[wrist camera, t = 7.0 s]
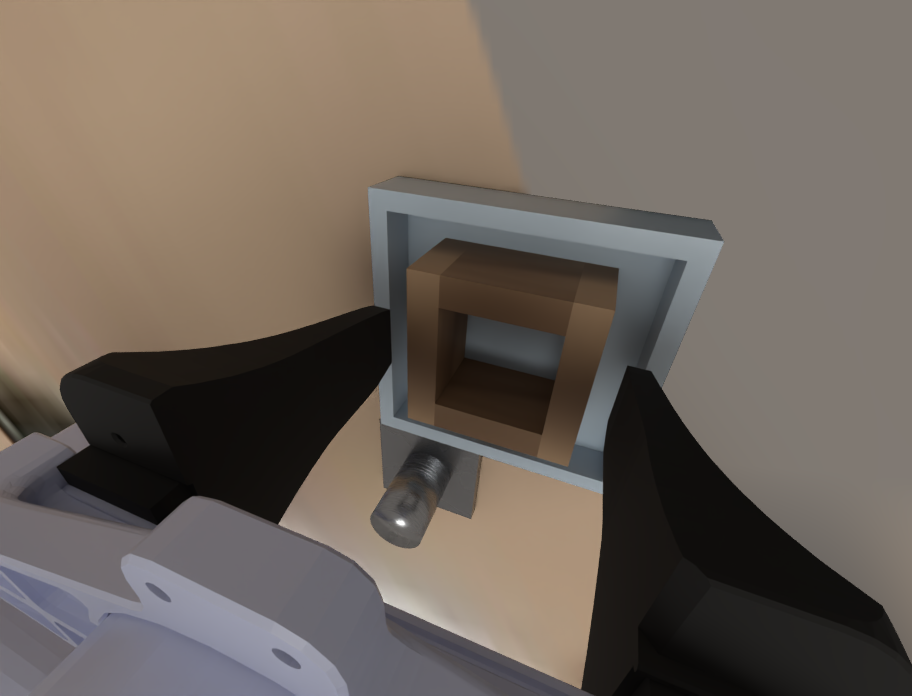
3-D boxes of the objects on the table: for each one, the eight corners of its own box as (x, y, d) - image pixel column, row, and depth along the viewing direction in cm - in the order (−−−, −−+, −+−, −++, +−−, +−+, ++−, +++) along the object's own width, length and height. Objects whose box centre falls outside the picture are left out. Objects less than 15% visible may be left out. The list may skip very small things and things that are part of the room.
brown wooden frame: (445, 237, 14) (406, 268, 11) (618, 268, 12) (615, 310, 10) (438, 394, 18) (407, 441, 15) (571, 431, 16) (560, 491, 14)
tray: (402, 396, 19) (381, 423, 18) (398, 175, 14) (367, 187, 12) (616, 458, 17) (614, 497, 15) (711, 220, 11) (724, 241, 10)
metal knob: (389, 479, 23) (349, 542, 20) (385, 411, 20) (338, 472, 17) (474, 509, 22) (446, 582, 18) (483, 441, 19) (453, 513, 16)
